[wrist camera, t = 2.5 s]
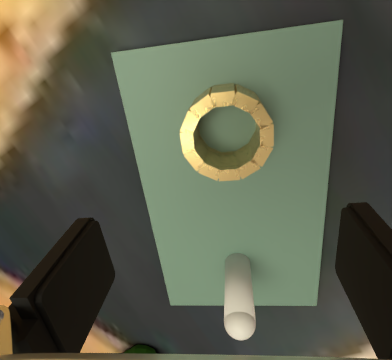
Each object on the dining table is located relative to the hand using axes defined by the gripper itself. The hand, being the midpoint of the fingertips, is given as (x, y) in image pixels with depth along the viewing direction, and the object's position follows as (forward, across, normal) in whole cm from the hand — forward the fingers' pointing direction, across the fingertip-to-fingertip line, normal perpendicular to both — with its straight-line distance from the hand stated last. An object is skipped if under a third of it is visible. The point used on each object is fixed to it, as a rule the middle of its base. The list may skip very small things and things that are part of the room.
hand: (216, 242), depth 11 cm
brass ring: (+16, 0, 0) cm, 16 cm away
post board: (+17, 0, +8) cm, 19 cm away
